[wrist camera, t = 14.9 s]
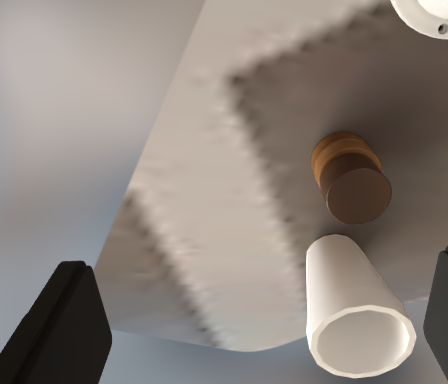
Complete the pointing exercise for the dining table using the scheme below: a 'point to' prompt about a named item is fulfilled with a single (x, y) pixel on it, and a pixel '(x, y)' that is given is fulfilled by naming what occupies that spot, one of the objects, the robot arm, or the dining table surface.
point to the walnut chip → (354, 188)
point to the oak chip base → (330, 140)
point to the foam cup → (353, 312)
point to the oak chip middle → (340, 149)
